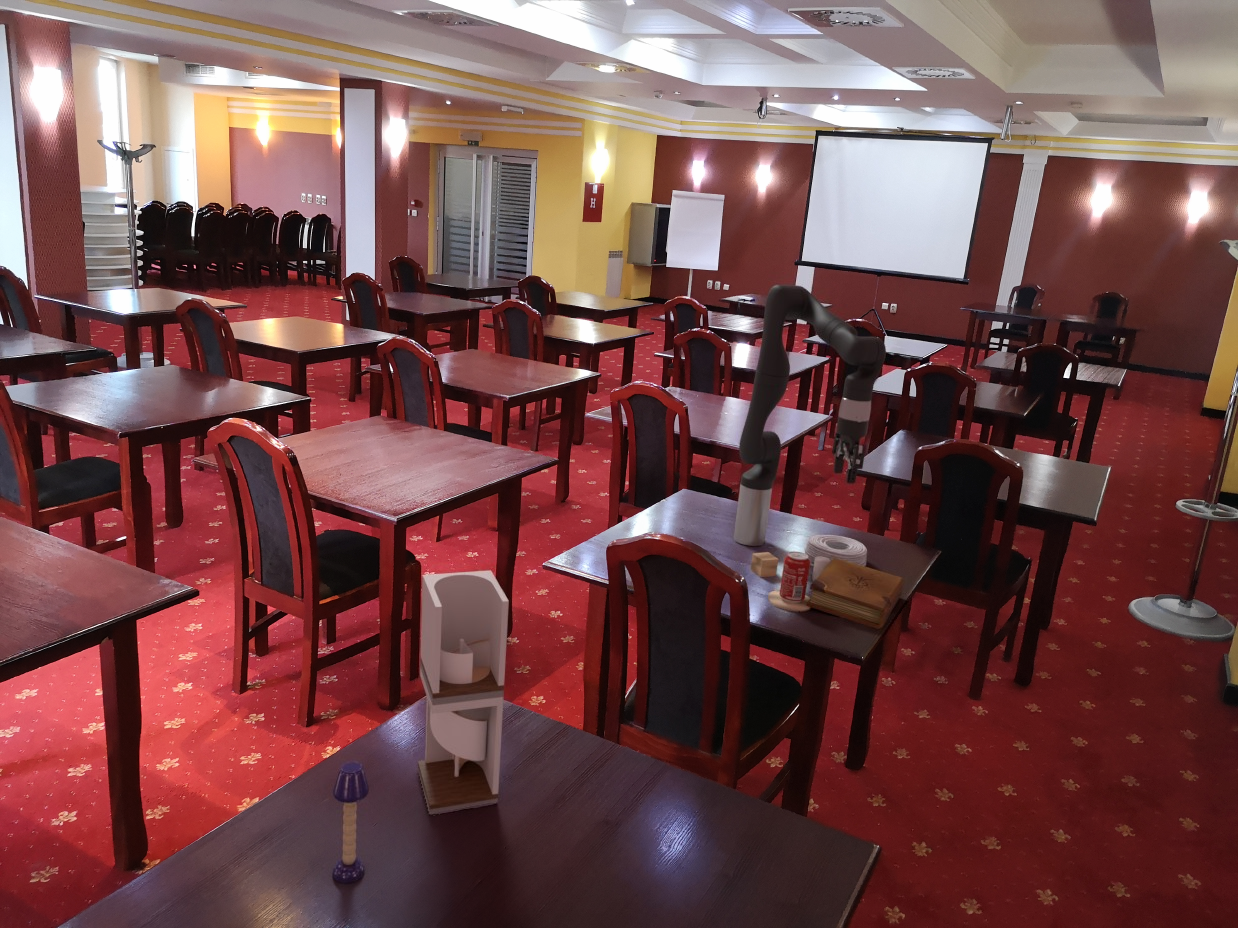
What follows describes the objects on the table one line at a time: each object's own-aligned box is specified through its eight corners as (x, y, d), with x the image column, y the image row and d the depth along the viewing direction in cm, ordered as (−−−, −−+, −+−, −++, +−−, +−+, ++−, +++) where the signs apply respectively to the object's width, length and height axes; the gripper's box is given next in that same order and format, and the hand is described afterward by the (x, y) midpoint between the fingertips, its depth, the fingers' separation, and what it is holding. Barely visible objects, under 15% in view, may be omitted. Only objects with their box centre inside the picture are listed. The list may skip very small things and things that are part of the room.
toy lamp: (337, 858, 126) (336, 756, 122) (370, 858, 127) (371, 757, 122) (329, 883, 122) (328, 778, 117) (364, 883, 122) (365, 778, 118)
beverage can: (803, 595, 227) (809, 552, 224) (805, 606, 221) (812, 561, 218) (778, 592, 227) (784, 549, 224) (779, 603, 221) (786, 558, 218)
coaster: (762, 592, 229) (763, 589, 229) (803, 592, 231) (803, 590, 231) (775, 611, 219) (776, 608, 218) (818, 611, 220) (819, 608, 220)
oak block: (750, 570, 243) (752, 553, 241) (766, 569, 245) (768, 552, 243) (760, 577, 238) (762, 560, 237) (775, 576, 240) (778, 559, 239)
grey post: (810, 576, 242) (813, 555, 241) (825, 577, 242) (828, 556, 241) (813, 582, 238) (816, 561, 237) (828, 583, 238) (831, 562, 237)
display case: (417, 771, 147) (422, 574, 137) (481, 762, 151) (490, 570, 141) (429, 815, 137) (435, 606, 127) (497, 804, 140) (508, 600, 131)
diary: (881, 630, 213) (886, 609, 212) (806, 606, 221) (810, 585, 220) (900, 597, 233) (905, 577, 231) (830, 576, 241) (834, 556, 239)
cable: (798, 566, 250) (802, 545, 248) (807, 546, 266) (810, 526, 264) (862, 578, 244) (866, 558, 243) (867, 557, 260) (870, 538, 259)
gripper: (829, 409, 230) (820, 469, 234) (850, 422, 216) (840, 486, 221) (856, 410, 231) (847, 470, 235) (879, 423, 217) (869, 487, 222)
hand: (843, 477), depth 228 cm, fingers open, 8 cm apart
